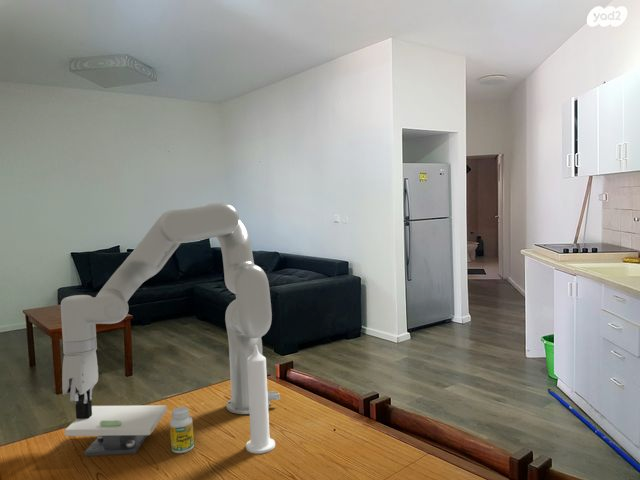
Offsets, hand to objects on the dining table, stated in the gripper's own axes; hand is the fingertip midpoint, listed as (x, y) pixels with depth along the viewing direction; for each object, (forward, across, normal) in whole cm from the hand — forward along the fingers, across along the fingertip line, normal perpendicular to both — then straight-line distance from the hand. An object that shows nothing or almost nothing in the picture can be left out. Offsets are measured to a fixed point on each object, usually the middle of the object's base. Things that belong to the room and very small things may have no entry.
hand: (84, 417), depth 124 cm
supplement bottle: (+7, +5, +26) cm, 27 cm away
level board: (+2, 0, +8) cm, 9 cm away
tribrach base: (+7, 0, +8) cm, 11 cm away
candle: (+7, +6, +45) cm, 45 cm away
